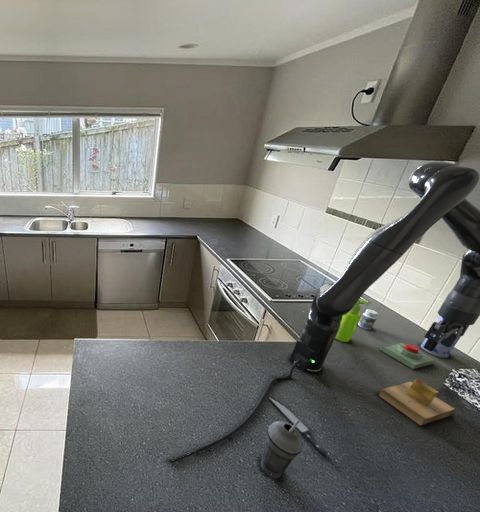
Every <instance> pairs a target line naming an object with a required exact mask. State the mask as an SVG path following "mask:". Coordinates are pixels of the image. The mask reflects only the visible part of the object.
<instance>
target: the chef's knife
mask: <svg viewBox="0 0 480 512" xmlns="http://www.w3.org/2000/svg"><path fill="white" fill-rule="evenodd" d="M269 400H270V401H271V402H272V403H273V404H274V405H275V406H276V408H278V410H279V411H280V412H281V413H282V414H283V415H284V416H285V417H286V418H287V419H288V420H289V421H290V422H291V424H292V425H294V423H295V422H296V421H297V419H298V417H297V416H296V415H295V414H294V413H293V412H291V411H290V410H289V409H288V408H287V407H285V405H282V404H281V403H280V402H278V401H277V400H275V399H273V398H271V397H269ZM295 428H296V429H297V430H298V431H299V433H300V434H301V435H303V436H304V437H305V438H306V439H307V440H308V441H309V442H310V443H311V445H313V447H314V448H316V450H317V451H318V452H319V453H320V454H321V455H322V456H323V457H327V452H326V451H325V450H324V449H323V448H322V447H320V446H319V444H318V443H316V442H315V440H314V439H313V438H312V437H311V436H310V435H309V434H308V431H309V428H308V427H307V426H306V425H305V424H304V423H302V421H301V420H300V422H299V423H298V424H297V426H296V427H295Z"/></svg>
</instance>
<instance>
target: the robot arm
mask: <svg viewBox="0 0 480 512" xmlns="http://www.w3.org/2000/svg"><path fill="white" fill-rule="evenodd" d="M479 182H480V171H478V170H477V169H475V168H473V167H470V166H465V165H461V164H455V163H451V162H446V161H431V162H427V163H424V164H422V165H419V166H418V167H417V168H415V169H414V170H413V171H412V173H411V174H410V176H409V178H408V187H409V190H411V192H413V193H414V194H416V195H417V196H419V198H420V199H419V201H418V202H417V203H416V204H415V205H414V206H413V207H412V208H411V209H410V210H409V211H407V212H406V213H405V214H403V215H402V216H400V217H398V218H397V219H395V220H392V221H391V222H388V223H386V224H384V225H383V226H380V227H378V228H377V229H374V231H372V232H371V233H370V234H368V236H367V237H366V238H365V239H364V240H363V241H362V243H360V245H359V246H358V247H357V249H355V251H354V253H353V254H352V255H351V258H350V259H349V262H348V264H347V266H346V268H345V269H344V271H343V273H342V274H341V275H340V277H339V278H338V279H337V280H336V281H335V282H334V283H333V282H330V283H325V284H323V285H321V286H320V287H319V288H318V289H317V290H316V293H315V294H314V297H313V300H312V303H311V305H310V308H309V311H308V314H307V318H306V320H305V323H304V326H303V328H302V330H301V332H300V335H299V337H298V340H296V342H295V344H294V347H293V350H292V352H291V355H290V357H289V360H290V361H291V362H292V365H291V367H290V370H289V372H288V374H286V375H284V376H275V377H273V378H271V379H270V381H269V382H268V384H267V385H266V388H265V390H264V392H263V393H262V395H261V397H260V398H259V400H258V401H257V403H256V405H255V406H254V408H253V409H252V410H251V412H250V413H249V414H248V415H247V417H246V418H245V419H243V421H242V422H240V424H238V425H237V426H236V427H234V428H233V429H232V430H230V431H229V432H226V433H225V434H224V435H222V436H220V437H218V438H216V439H214V440H213V441H211V442H208V443H206V444H204V445H201V446H199V447H197V448H194V449H192V450H190V451H187V452H185V453H183V454H179V455H177V456H174V457H172V458H170V459H169V462H170V463H171V464H175V463H177V462H179V461H181V460H184V459H186V458H188V457H191V456H193V455H195V454H198V453H201V452H202V451H205V450H207V449H210V448H211V447H214V446H216V445H217V444H220V443H222V442H223V441H225V440H227V439H229V438H230V437H232V436H233V435H234V434H236V433H237V432H239V431H240V430H241V429H242V428H244V427H245V425H247V423H248V422H250V420H251V419H252V418H253V417H254V415H255V414H256V413H257V411H258V409H259V408H260V406H261V405H262V403H263V402H264V400H265V398H266V396H267V394H269V391H270V389H271V387H272V385H273V384H274V382H276V381H280V380H287V379H289V378H291V376H292V375H293V373H294V370H295V368H296V366H297V367H298V368H299V369H300V370H301V371H303V372H309V373H319V372H321V371H322V367H323V365H324V363H325V361H326V358H327V357H328V355H329V352H330V350H331V348H332V346H333V343H334V341H335V339H336V338H335V337H336V335H337V333H338V331H339V329H340V325H341V320H342V317H343V315H345V314H347V313H348V312H349V311H350V310H351V309H352V308H353V307H354V305H355V304H356V303H357V301H358V300H359V299H360V298H362V296H363V295H364V294H365V292H367V290H368V289H369V288H370V287H371V286H372V285H373V284H375V283H376V282H377V281H379V279H380V278H381V277H382V276H384V274H385V273H386V272H387V271H388V270H389V269H391V268H392V266H394V265H395V264H396V263H397V262H398V261H399V260H400V259H401V258H402V257H403V256H404V255H405V254H406V253H407V252H408V251H409V249H410V248H411V247H412V246H413V245H414V244H415V243H416V242H417V241H418V240H419V239H420V238H421V237H423V235H425V234H426V233H427V231H428V230H430V229H431V228H432V227H433V226H434V225H435V224H436V223H437V222H438V221H440V220H441V219H442V220H443V222H444V223H445V224H446V226H447V227H448V228H449V229H450V231H451V232H452V233H453V235H454V237H455V238H456V239H457V240H458V242H459V243H460V245H461V246H463V247H464V248H465V251H464V252H463V255H462V258H461V264H460V271H459V278H458V279H457V281H456V283H455V285H454V286H453V287H452V290H451V291H449V293H448V294H447V296H446V297H445V299H444V301H443V302H442V304H441V305H440V307H439V309H438V311H437V314H438V316H439V317H440V316H441V317H442V318H443V320H442V321H439V322H438V323H436V321H434V322H432V324H431V326H430V327H429V328H428V330H427V332H426V333H425V335H424V338H425V339H426V338H427V339H428V340H427V341H426V343H425V345H424V348H425V349H427V350H429V351H434V349H435V348H436V346H437V345H438V343H439V342H440V341H441V340H442V339H443V340H442V341H441V344H442V345H444V346H446V347H451V346H452V344H453V343H454V341H455V340H456V338H459V336H461V337H464V336H465V333H466V332H467V330H468V329H469V327H470V326H474V325H475V323H476V322H477V320H478V319H479V318H480V209H479V208H478V207H477V206H475V205H474V204H473V203H472V202H471V201H469V200H468V199H467V198H468V196H470V195H471V193H473V191H475V190H476V188H477V186H478V184H479ZM442 333H443V334H442ZM434 335H436V336H435V337H433V336H434ZM194 451H196V452H194ZM188 452H190V453H191V454H189V453H188ZM187 454H189V455H187ZM183 456H184V457H183ZM180 457H181V458H180ZM172 460H174V461H172Z"/></svg>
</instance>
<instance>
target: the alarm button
mask: <svg viewBox="0 0 480 512" xmlns="http://www.w3.org/2000/svg"><path fill="white" fill-rule="evenodd" d="M405 349H406V350H407V351H409V352H412V353H418V351H419V350H420V348H419V347H418V346H416V345H414V344H411V343H406V346H405Z"/></svg>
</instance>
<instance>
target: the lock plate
mask: <svg viewBox="0 0 480 512" xmlns="http://www.w3.org/2000/svg"><path fill="white" fill-rule="evenodd" d="M413 382H414V381H413ZM413 382H412V381H407V382H403V383H399V384H397V385H392V386H389V387H386V388H382V389H381V391H380V393H379V394H378V396H379V397H380V398H381V399H382V400H384V401H386V402H387V403H388V404H390V405H391V406H393V408H395V409H397V410H398V411H400V412H401V413H402V414H404V415H405V416H407V417H408V418H409V419H411V420H412V421H414V422H415V423H416V424H417V425H419V426H423V425H426V424H430V423H432V422H435V421H438V420H441V419H445V418H447V417H450V416H452V414H453V413H454V411H455V410H456V408H454V407H453V406H451V405H450V404H448V403H446V402H445V401H443V400H441V399H440V398H438V397H437V396H436V397H435V398H434V399H433V401H432V402H431V404H430V405H427V406H426V405H424V404H423V403H421V402H420V401H418V400H417V399H415V398H413V397H412V396H410V395H409V394H407V391H408V389H409V388H410V386H411V385H412V383H413Z"/></svg>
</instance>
